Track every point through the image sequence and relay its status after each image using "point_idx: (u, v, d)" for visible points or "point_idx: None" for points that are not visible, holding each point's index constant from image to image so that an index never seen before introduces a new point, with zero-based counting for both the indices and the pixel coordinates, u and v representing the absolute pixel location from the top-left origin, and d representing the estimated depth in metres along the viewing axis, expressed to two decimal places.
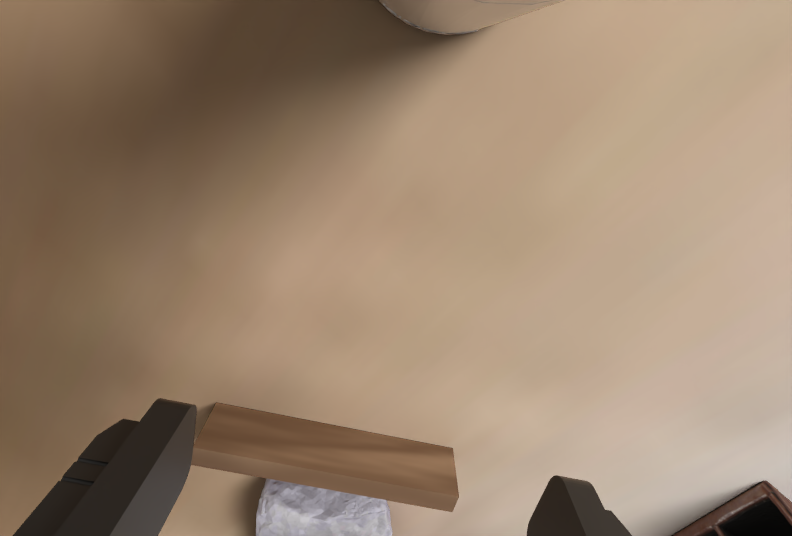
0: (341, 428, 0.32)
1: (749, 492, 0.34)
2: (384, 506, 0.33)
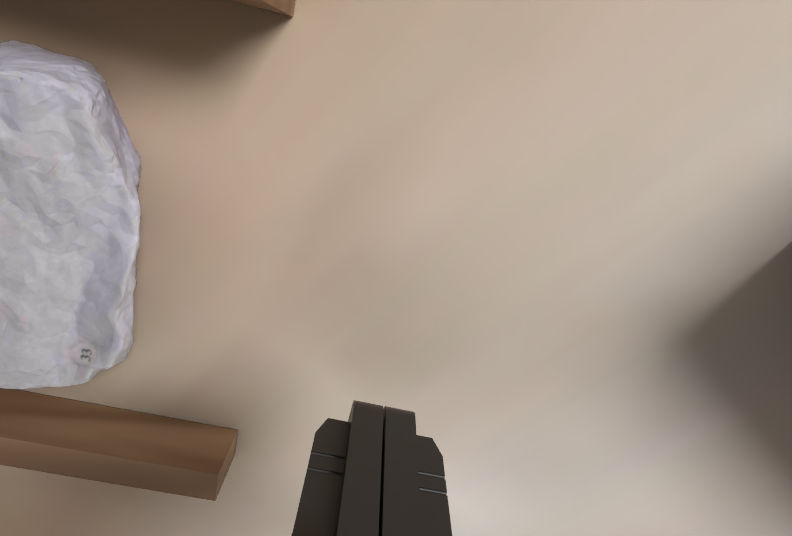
0: None
1: None
2: (84, 91, 0.13)
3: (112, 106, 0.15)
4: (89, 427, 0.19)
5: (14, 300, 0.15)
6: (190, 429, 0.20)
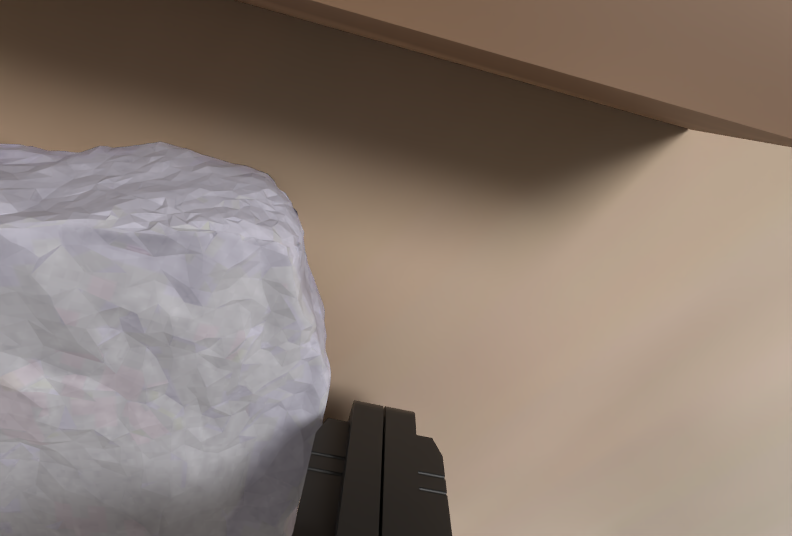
0: None
1: None
2: (289, 237, 0.09)
3: None
4: None
5: (153, 520, 0.10)
6: None
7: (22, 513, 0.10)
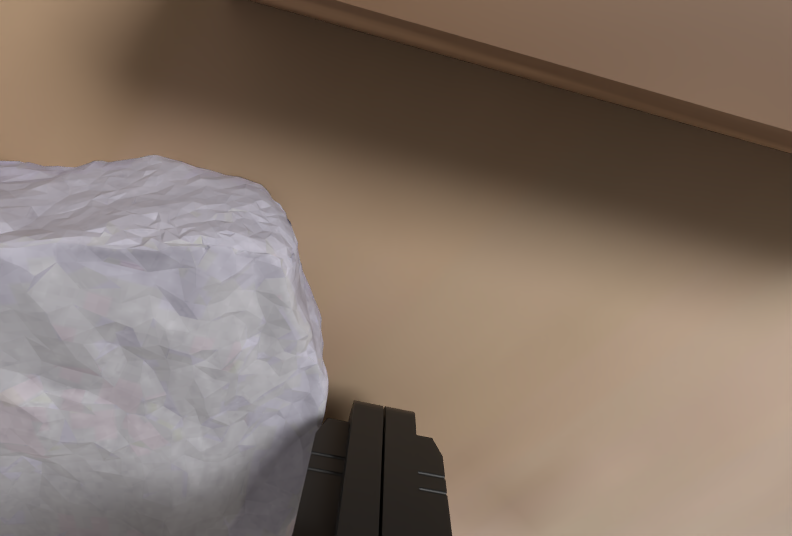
0: None
1: None
2: (282, 248, 0.09)
3: None
4: None
5: (155, 529, 0.10)
6: None
7: (26, 525, 0.10)
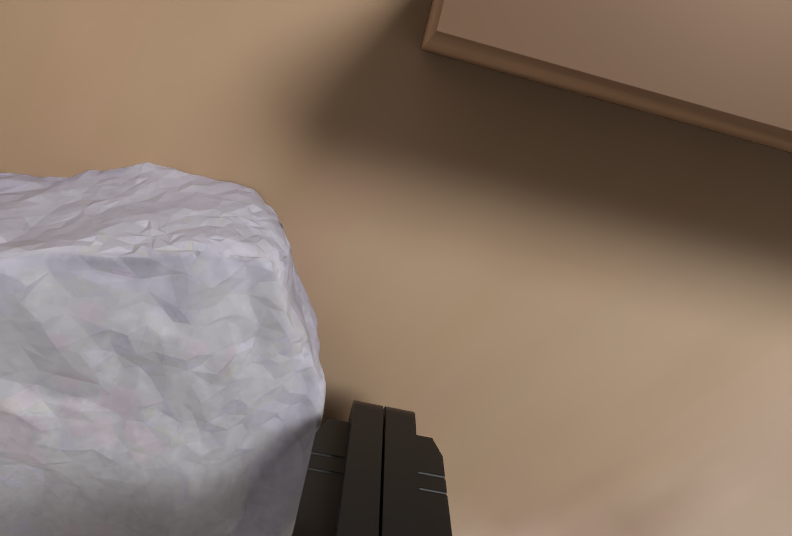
0: None
1: None
2: (274, 252, 0.09)
3: (290, 252, 0.10)
4: None
5: (158, 535, 0.10)
6: None
7: (30, 533, 0.10)
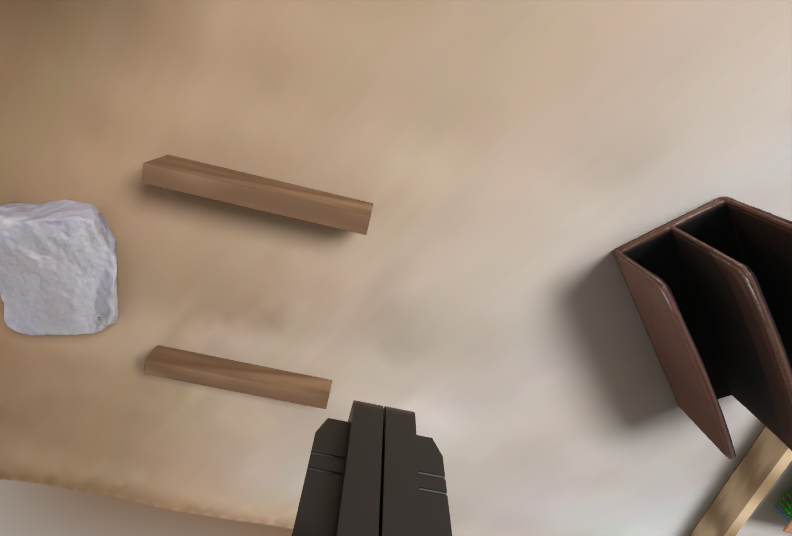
0: None
1: (708, 204, 0.38)
2: (91, 219, 0.37)
3: (102, 221, 0.39)
4: (271, 376, 0.44)
5: (71, 298, 0.39)
6: (312, 379, 0.45)
7: (37, 297, 0.39)
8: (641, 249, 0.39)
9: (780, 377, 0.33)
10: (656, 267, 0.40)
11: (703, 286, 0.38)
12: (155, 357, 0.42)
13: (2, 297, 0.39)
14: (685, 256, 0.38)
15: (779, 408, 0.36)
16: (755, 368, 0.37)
